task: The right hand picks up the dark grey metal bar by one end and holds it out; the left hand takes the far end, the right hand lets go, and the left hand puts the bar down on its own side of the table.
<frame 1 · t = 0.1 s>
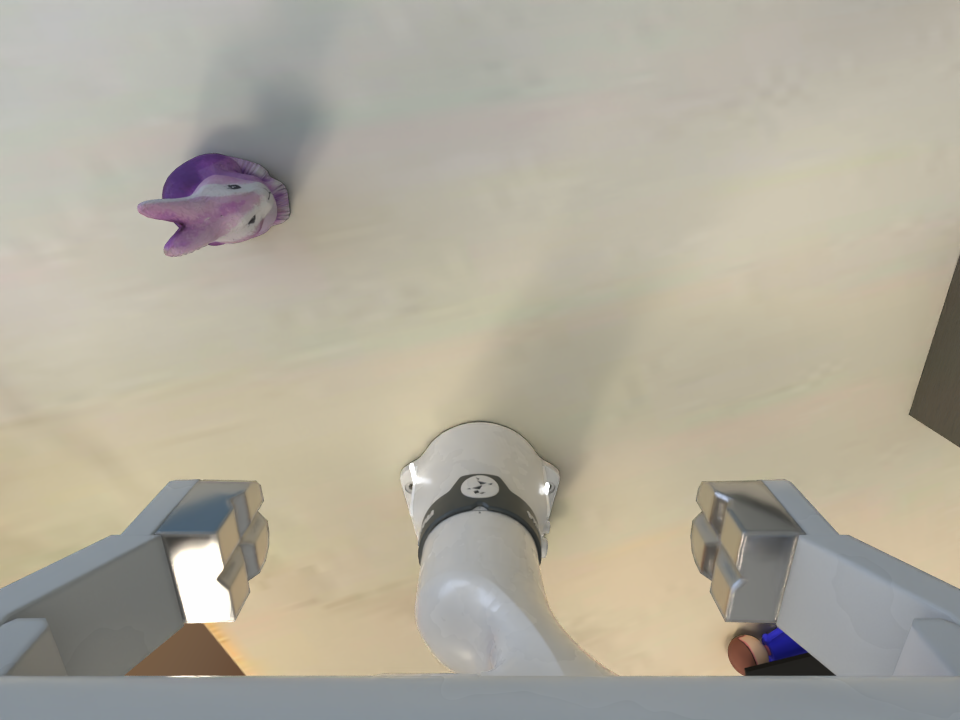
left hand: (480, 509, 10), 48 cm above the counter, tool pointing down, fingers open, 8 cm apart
figurine: (244, 195, 54), on the counter
figurine character: (777, 630, 75), on the counter
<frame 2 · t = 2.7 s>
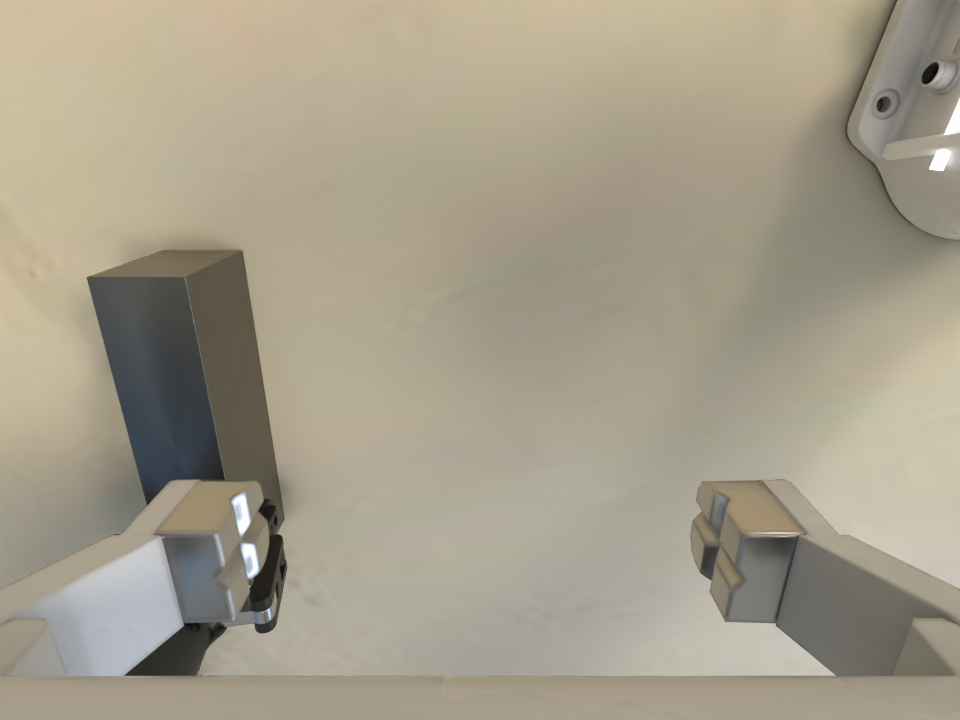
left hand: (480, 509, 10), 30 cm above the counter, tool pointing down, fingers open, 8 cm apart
bar: (229, 397, 42), on the counter, touching right hand
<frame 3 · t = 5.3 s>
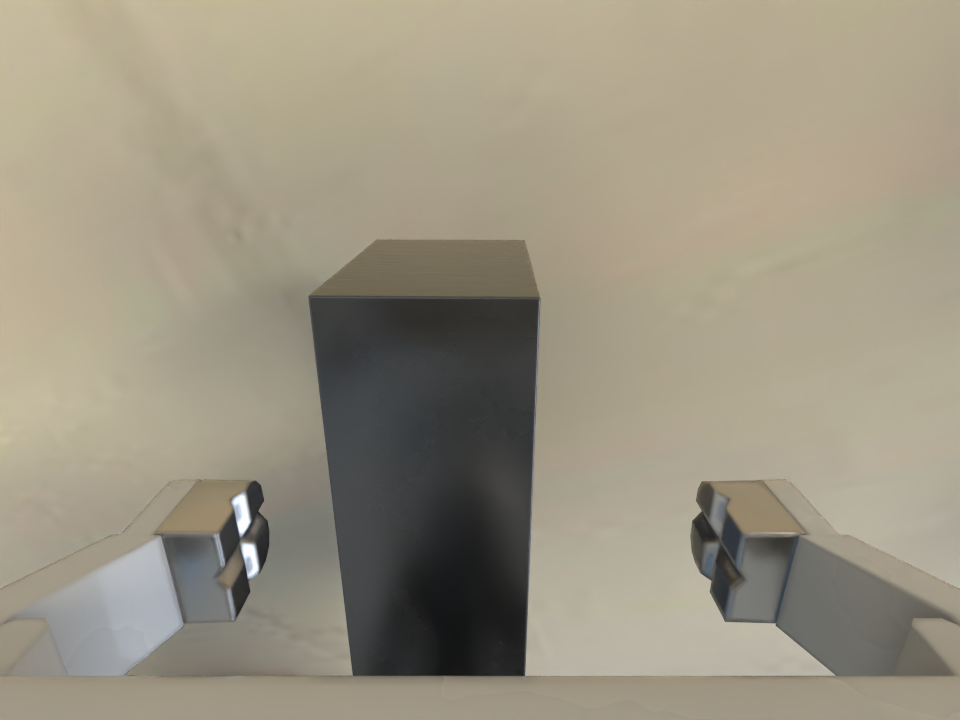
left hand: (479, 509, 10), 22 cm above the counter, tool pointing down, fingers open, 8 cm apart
bar: (455, 495, 25), point 10 cm above the counter, touching right hand
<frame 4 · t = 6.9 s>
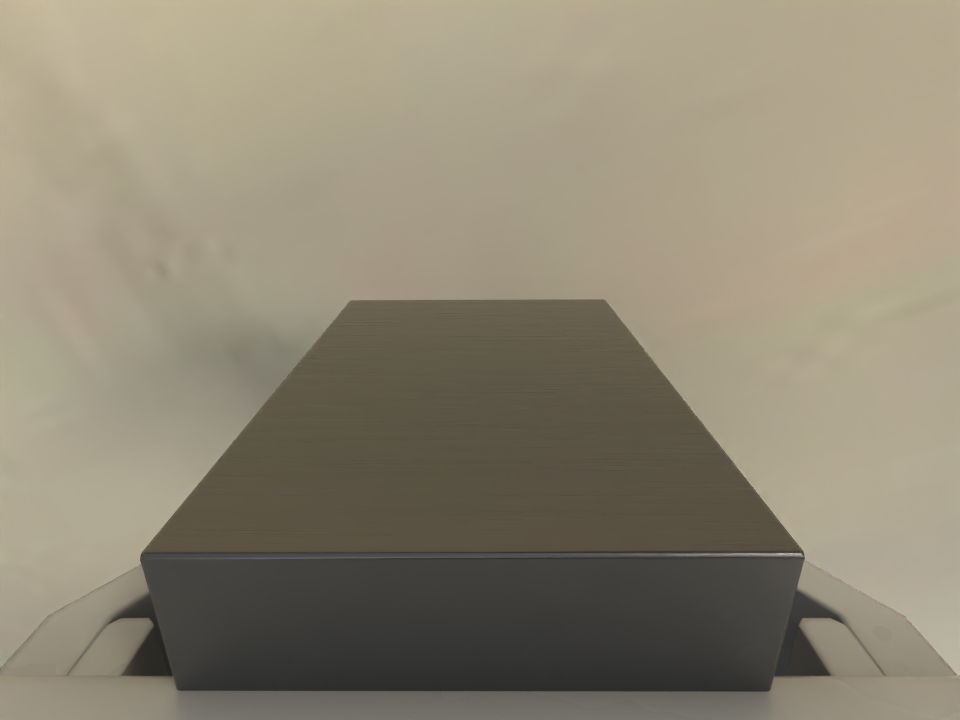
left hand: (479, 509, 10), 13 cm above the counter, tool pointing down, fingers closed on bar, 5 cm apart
bar: (479, 677, 16), point 10 cm above the counter, touching left hand, right hand
when the right hand's fingers open (13 cm above the counter, at t = 8.1 s): bar stays where it is, held by the left hand.
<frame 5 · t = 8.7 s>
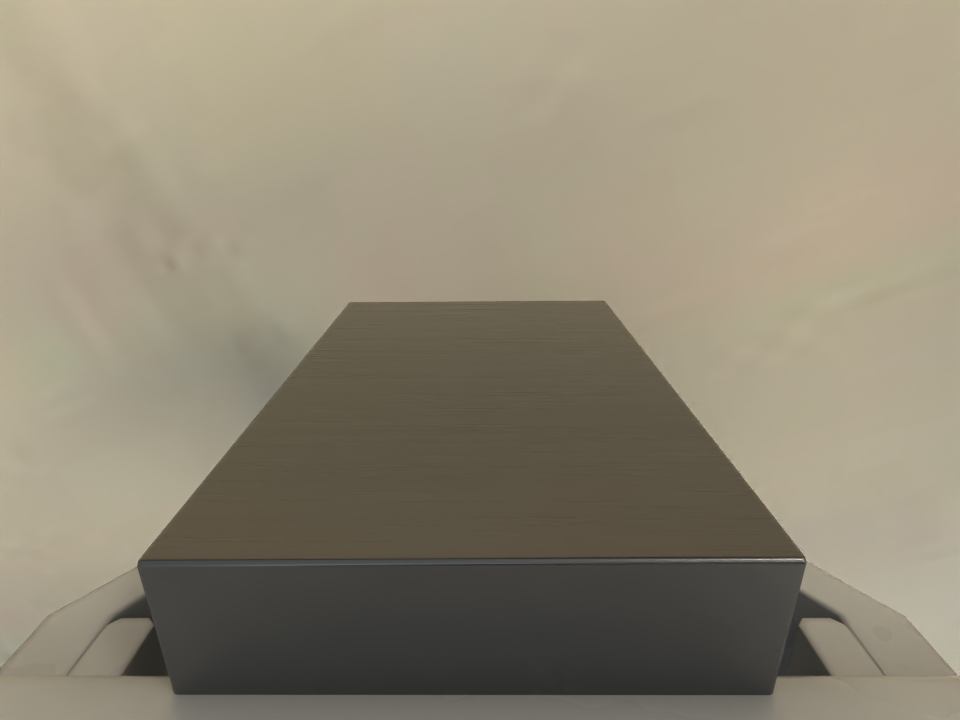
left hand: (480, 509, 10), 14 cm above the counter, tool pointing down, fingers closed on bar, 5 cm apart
bar: (480, 679, 16), point 11 cm above the counter, touching left hand
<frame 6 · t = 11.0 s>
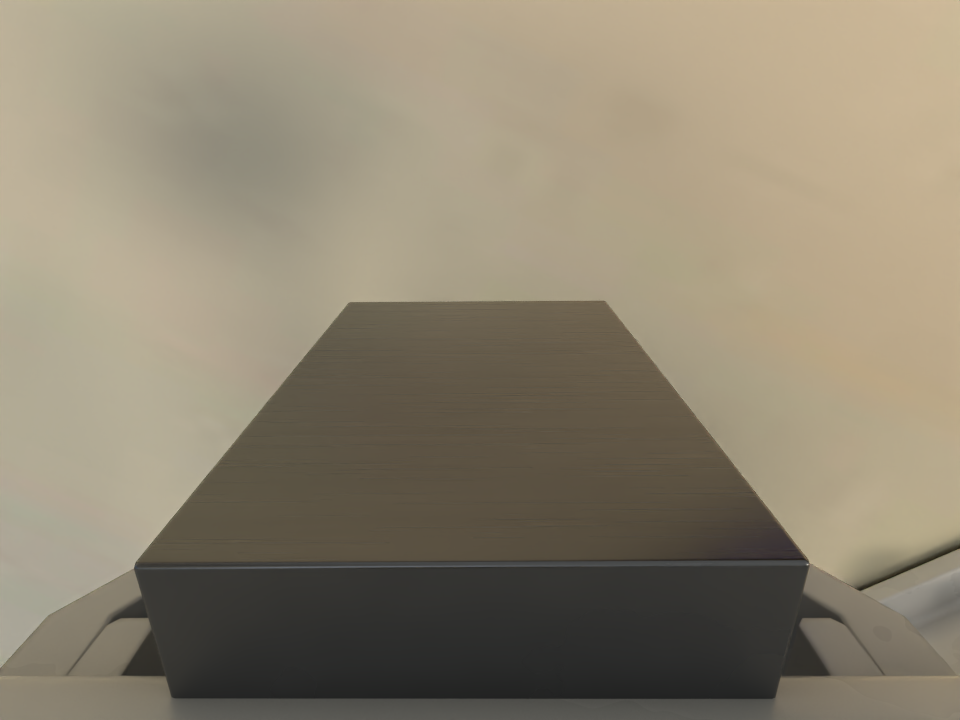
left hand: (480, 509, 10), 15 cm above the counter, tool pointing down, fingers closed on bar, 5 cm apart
bar: (480, 679, 16), point 12 cm above the counter, touching left hand
when the left hand's fingers open (4 cm above the counter, at t = 12.6 s): bar stays where it is, on the counter.
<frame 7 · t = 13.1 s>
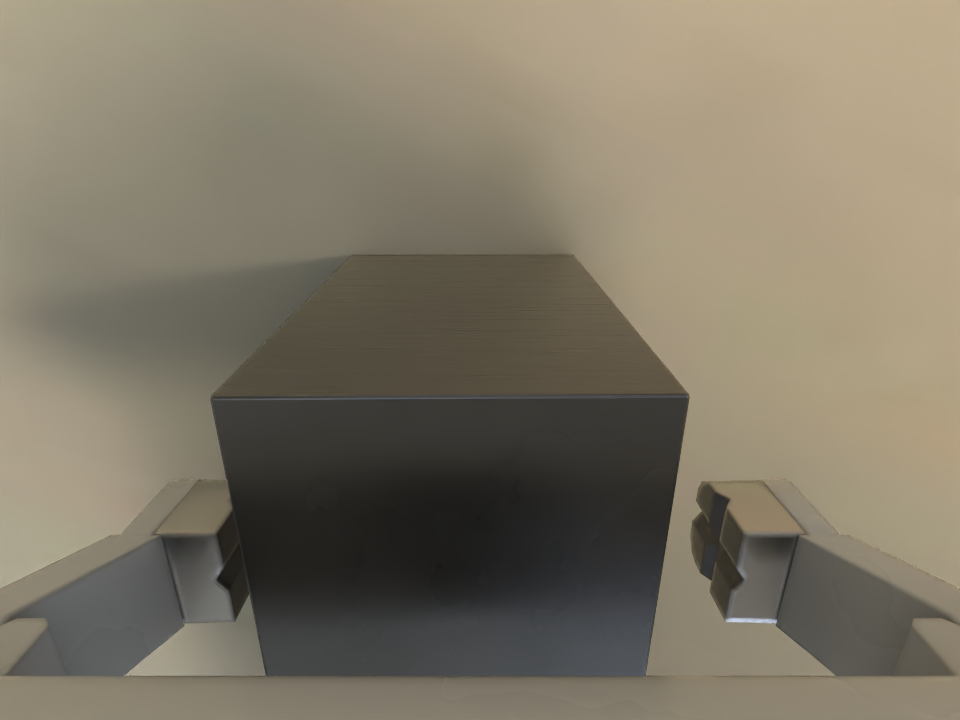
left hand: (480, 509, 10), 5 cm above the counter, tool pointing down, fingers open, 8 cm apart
bar: (466, 602, 18), on the counter
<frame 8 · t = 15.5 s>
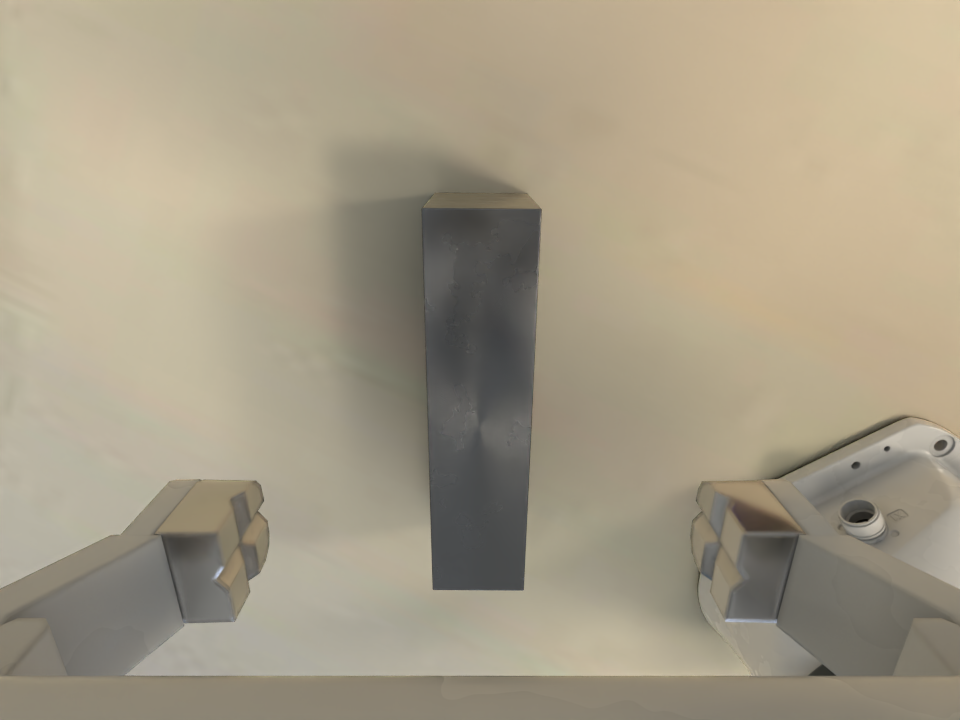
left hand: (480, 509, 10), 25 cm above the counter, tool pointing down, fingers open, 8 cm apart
bar: (479, 368, 37), on the counter
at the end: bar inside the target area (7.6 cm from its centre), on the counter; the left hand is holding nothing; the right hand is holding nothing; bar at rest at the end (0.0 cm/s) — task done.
